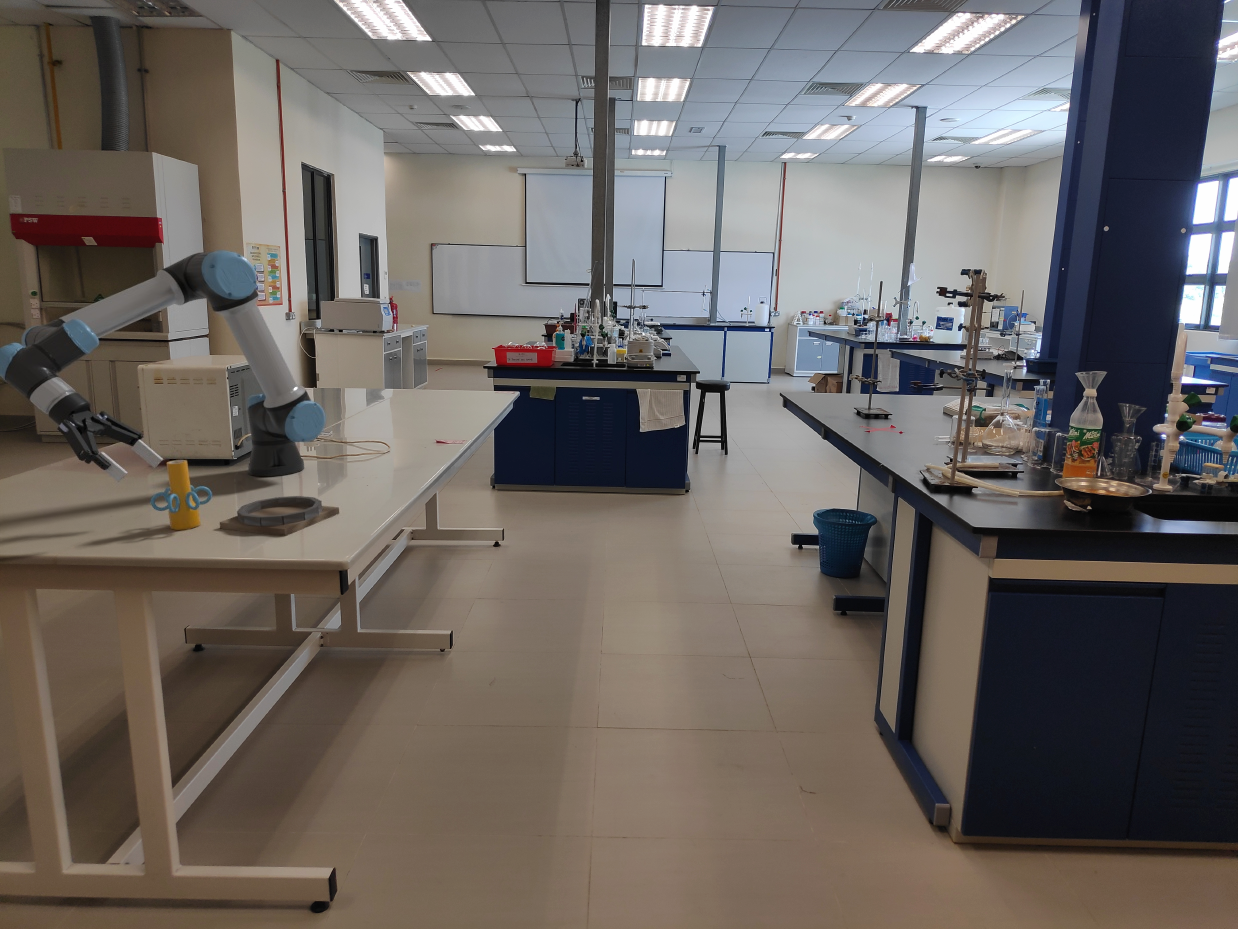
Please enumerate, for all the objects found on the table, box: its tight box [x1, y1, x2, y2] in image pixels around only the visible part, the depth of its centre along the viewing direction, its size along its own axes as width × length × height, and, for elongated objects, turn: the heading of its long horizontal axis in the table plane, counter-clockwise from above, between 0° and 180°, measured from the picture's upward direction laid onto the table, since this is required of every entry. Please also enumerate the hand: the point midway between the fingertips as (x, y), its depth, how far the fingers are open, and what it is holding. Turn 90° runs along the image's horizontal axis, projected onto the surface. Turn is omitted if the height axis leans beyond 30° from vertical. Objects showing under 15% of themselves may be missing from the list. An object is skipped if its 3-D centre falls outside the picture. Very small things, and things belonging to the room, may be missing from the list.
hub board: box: [219, 495, 340, 537], centre depth 181 cm, size 18×18×4 cm
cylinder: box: [150, 459, 213, 531], centre depth 176 cm, size 12×10×15 cm
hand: (141, 470), depth 174 cm, fingers open, 13 cm apart
